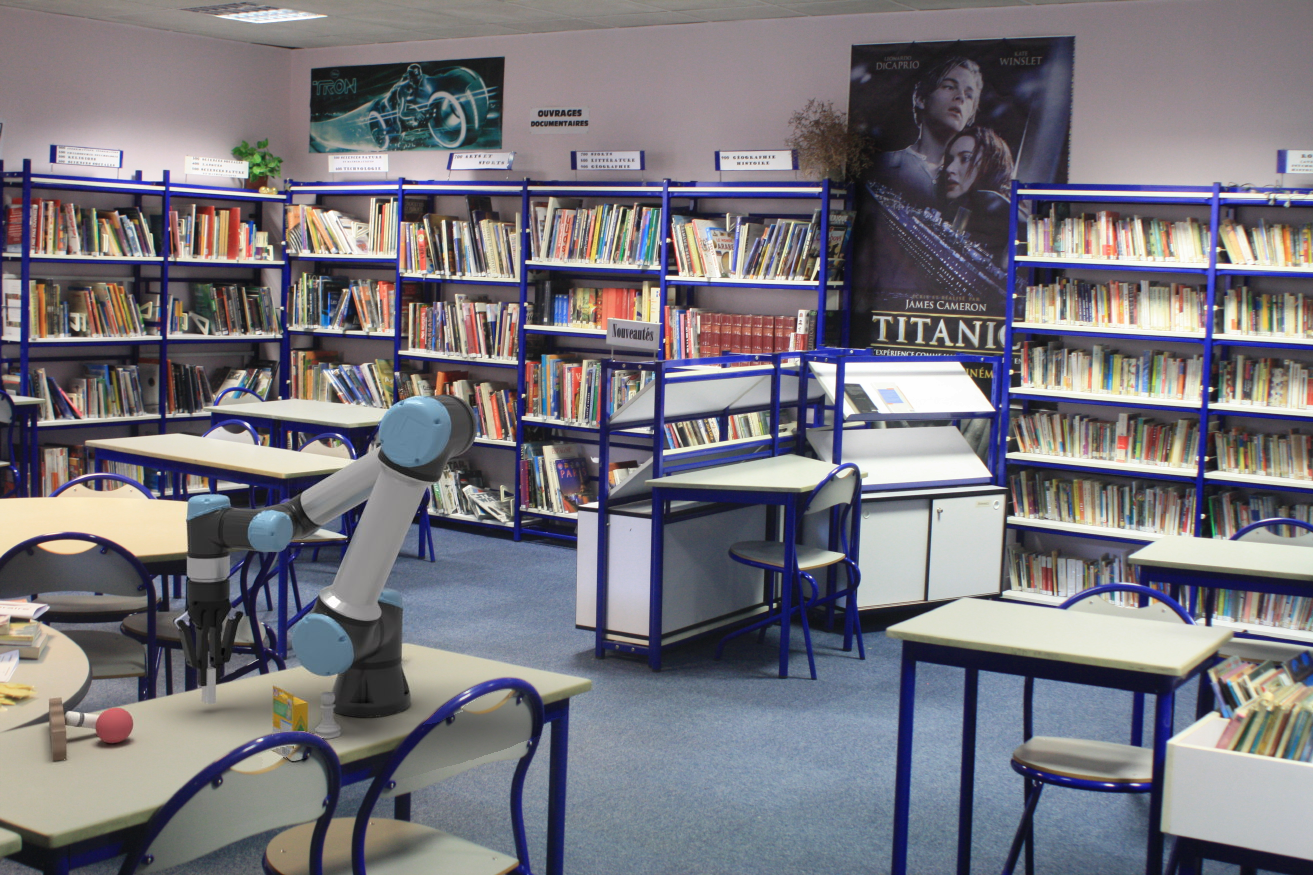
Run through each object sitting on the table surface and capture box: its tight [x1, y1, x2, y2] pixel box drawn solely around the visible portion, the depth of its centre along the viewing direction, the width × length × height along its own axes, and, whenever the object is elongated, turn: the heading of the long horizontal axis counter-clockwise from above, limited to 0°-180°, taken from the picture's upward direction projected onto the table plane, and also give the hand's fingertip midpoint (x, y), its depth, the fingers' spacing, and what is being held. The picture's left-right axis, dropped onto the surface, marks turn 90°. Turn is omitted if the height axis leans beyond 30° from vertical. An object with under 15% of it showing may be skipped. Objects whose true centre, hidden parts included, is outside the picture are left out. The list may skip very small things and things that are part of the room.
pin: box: [64, 710, 101, 730], centre depth 214 cm, size 2×2×9 cm
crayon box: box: [271, 685, 309, 759], centre depth 208 cm, size 7×3×12 cm, turn 44°
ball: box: [94, 707, 134, 744], centre depth 211 cm, size 6×6×6 cm
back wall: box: [48, 697, 67, 762], centre depth 211 cm, size 20×2×5 cm, turn 28°
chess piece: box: [314, 691, 342, 740], centre depth 218 cm, size 5×5×8 cm
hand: (208, 701), depth 230 cm, fingers closed
